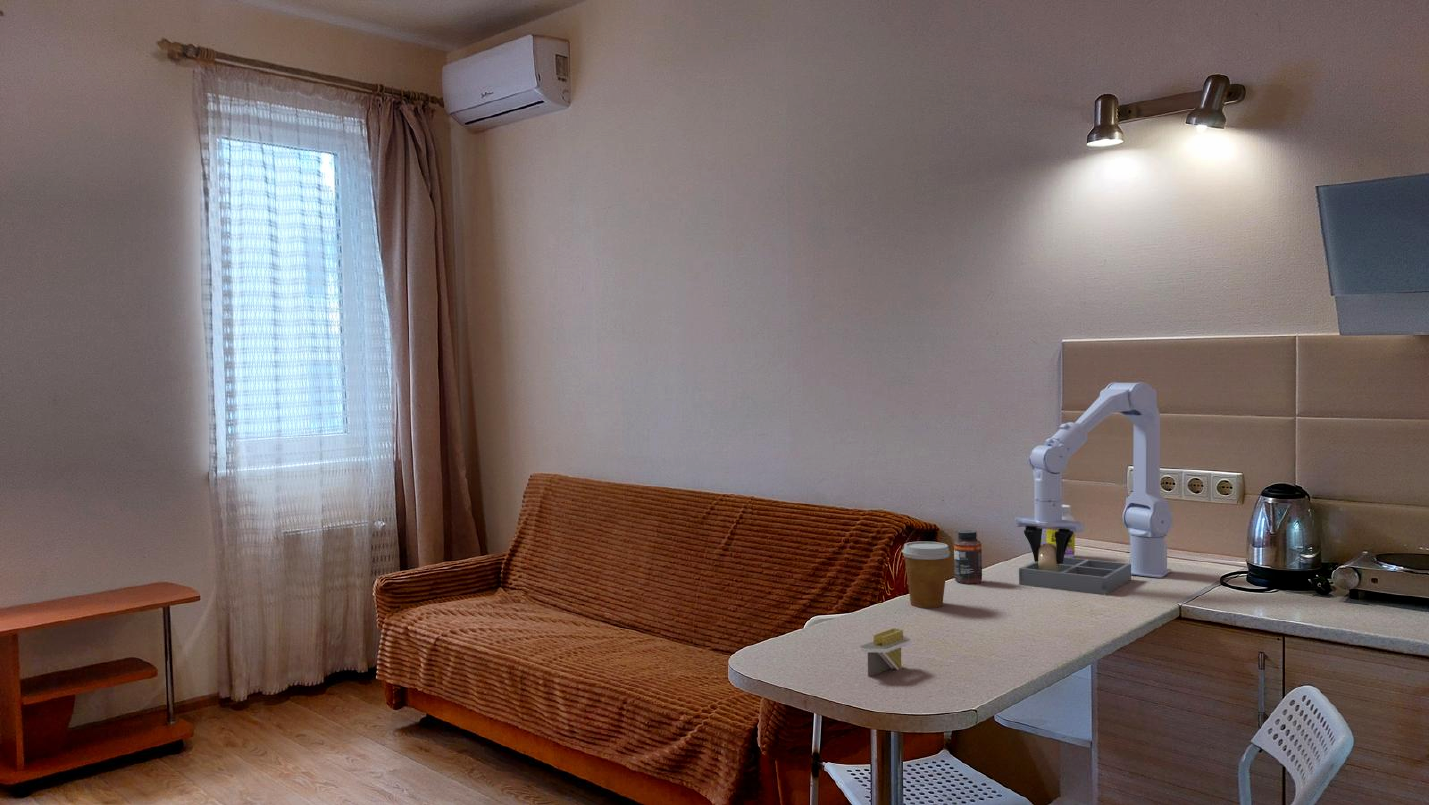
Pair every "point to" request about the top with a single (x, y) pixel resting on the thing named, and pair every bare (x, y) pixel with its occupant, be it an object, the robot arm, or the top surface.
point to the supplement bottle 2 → (1051, 533)
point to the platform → (885, 651)
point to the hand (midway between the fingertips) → (1048, 562)
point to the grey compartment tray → (1078, 575)
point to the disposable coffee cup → (926, 572)
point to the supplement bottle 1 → (968, 557)
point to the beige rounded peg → (1047, 557)
